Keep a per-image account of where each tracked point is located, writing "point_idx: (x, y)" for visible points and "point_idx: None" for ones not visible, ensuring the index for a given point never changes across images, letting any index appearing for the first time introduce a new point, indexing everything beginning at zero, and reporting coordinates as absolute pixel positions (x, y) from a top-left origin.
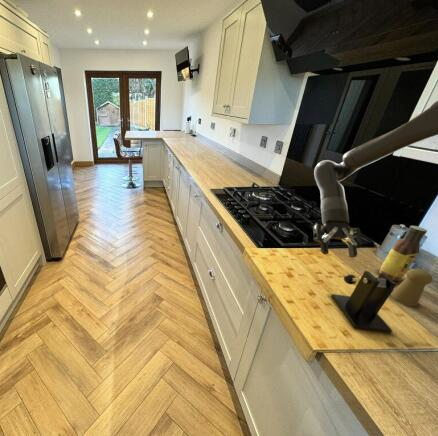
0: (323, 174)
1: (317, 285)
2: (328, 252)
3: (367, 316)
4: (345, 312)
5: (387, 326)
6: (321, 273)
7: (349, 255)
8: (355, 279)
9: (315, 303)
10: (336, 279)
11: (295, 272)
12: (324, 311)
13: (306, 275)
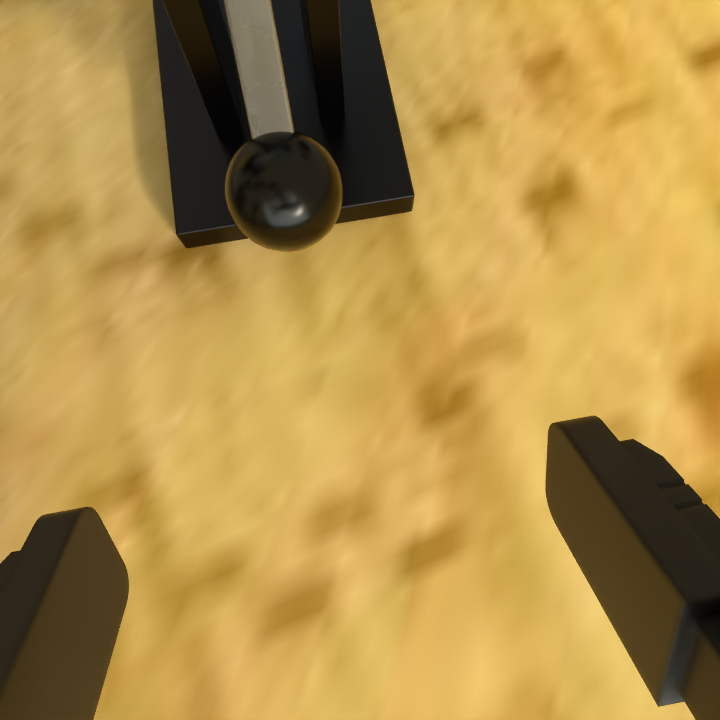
0: None
1: (484, 322)
2: (560, 424)
3: None
4: (379, 40)
5: (160, 5)
6: (400, 551)
7: (119, 608)
8: (282, 70)
9: (542, 99)
10: (279, 495)
11: None
12: (498, 47)
13: None
